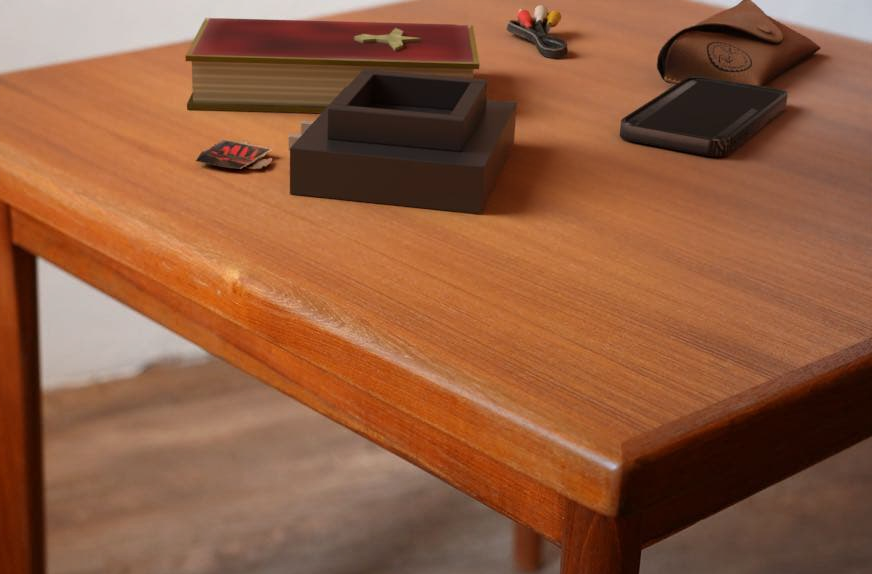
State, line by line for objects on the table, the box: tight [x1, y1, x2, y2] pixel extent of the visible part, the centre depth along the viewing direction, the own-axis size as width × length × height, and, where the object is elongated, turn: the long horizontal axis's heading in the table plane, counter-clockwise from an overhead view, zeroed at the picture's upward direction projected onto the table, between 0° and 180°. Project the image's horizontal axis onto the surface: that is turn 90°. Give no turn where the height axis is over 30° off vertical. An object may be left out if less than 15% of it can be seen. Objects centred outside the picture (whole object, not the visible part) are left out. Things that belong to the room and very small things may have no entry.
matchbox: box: [195, 139, 274, 170], centre depth 95 cm, size 5×5×1 cm
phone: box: [619, 76, 789, 157], centre depth 104 cm, size 8×1×15 cm
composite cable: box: [505, 4, 569, 59], centre depth 123 cm, size 10×5×2 cm, turn 179°
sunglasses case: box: [656, 0, 821, 87], centre depth 117 cm, size 18×7×7 cm
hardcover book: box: [185, 17, 480, 114], centre depth 109 cm, size 12×21×4 cm, turn 87°
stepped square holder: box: [287, 69, 518, 215], centre depth 93 cm, size 14×14×5 cm
